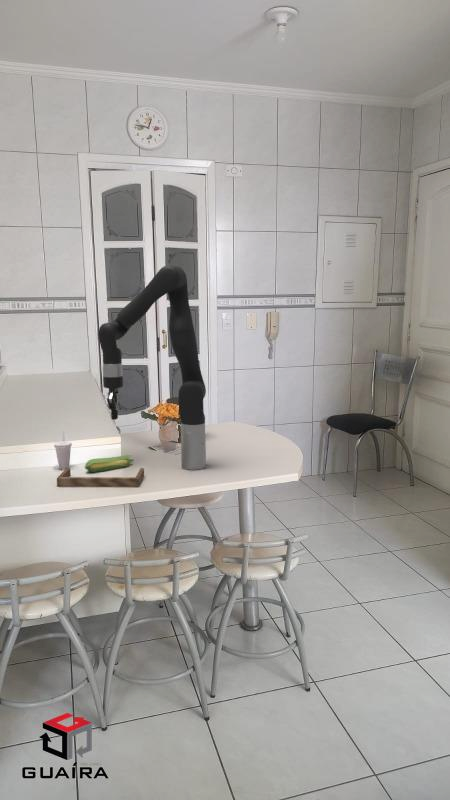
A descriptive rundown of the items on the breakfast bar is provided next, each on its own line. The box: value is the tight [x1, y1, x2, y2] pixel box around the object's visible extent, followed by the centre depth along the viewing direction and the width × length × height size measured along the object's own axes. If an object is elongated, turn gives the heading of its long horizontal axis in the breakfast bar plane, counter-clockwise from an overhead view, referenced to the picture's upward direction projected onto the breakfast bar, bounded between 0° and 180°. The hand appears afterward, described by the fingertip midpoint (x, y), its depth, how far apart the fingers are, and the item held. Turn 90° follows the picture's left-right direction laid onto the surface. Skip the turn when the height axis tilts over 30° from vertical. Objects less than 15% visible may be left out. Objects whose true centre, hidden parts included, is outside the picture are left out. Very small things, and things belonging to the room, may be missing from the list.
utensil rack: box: [56, 467, 145, 488], centre depth 196 cm, size 28×12×3 cm, turn 89°
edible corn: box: [84, 454, 135, 473], centre depth 210 cm, size 5×20×5 cm
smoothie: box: [53, 431, 73, 470], centre depth 211 cm, size 6×6×14 cm
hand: (114, 419), depth 217 cm, fingers closed
